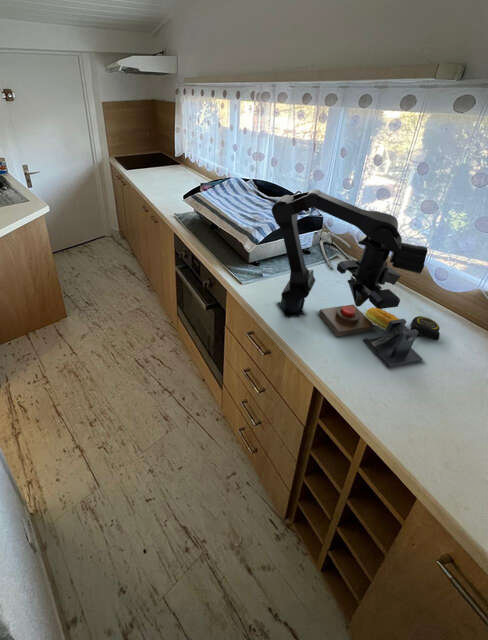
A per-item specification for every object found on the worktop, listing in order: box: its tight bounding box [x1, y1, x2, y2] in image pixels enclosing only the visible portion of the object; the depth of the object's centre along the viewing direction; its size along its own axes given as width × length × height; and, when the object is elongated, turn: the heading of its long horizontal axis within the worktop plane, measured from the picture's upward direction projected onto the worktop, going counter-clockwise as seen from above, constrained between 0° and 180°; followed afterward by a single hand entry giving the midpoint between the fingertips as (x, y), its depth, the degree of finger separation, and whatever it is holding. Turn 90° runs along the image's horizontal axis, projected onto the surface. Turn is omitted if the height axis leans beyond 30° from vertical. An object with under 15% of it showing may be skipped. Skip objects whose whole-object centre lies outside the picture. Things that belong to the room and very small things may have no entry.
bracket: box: [367, 318, 423, 368], centre depth 84 cm, size 10×9×10 cm
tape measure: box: [409, 315, 441, 342], centre depth 92 cm, size 7×7×4 cm
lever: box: [362, 323, 410, 357], centre depth 83 cm, size 11×5×2 cm, turn 99°
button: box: [341, 305, 355, 318], centre depth 95 cm, size 4×4×2 cm
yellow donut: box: [364, 306, 400, 332], centre depth 92 cm, size 10×11×4 cm
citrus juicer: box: [319, 231, 353, 270], centre depth 135 cm, size 11×10×30 cm
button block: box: [318, 303, 375, 337], centre depth 96 cm, size 12×10×4 cm
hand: (357, 305), depth 89 cm, fingers closed
